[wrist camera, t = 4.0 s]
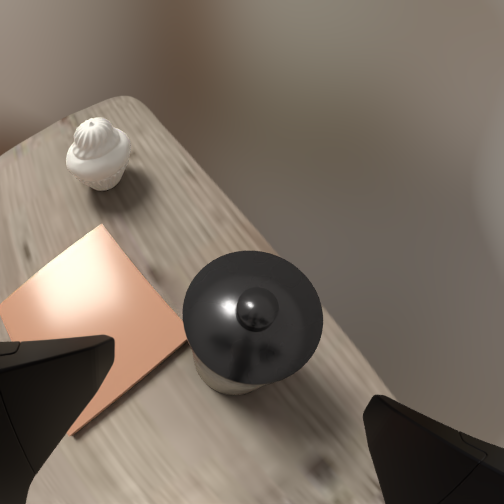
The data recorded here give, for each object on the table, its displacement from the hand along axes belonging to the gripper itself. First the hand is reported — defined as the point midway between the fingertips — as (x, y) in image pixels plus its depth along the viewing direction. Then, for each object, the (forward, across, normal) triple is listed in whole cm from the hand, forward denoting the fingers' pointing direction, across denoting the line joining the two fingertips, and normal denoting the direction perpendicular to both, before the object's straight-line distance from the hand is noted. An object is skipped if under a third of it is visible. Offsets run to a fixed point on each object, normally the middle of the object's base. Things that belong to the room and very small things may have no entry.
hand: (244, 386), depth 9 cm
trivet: (+10, -11, -6) cm, 16 cm away
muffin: (+19, -16, +3) cm, 25 cm away
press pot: (+10, 0, -6) cm, 12 cm away
